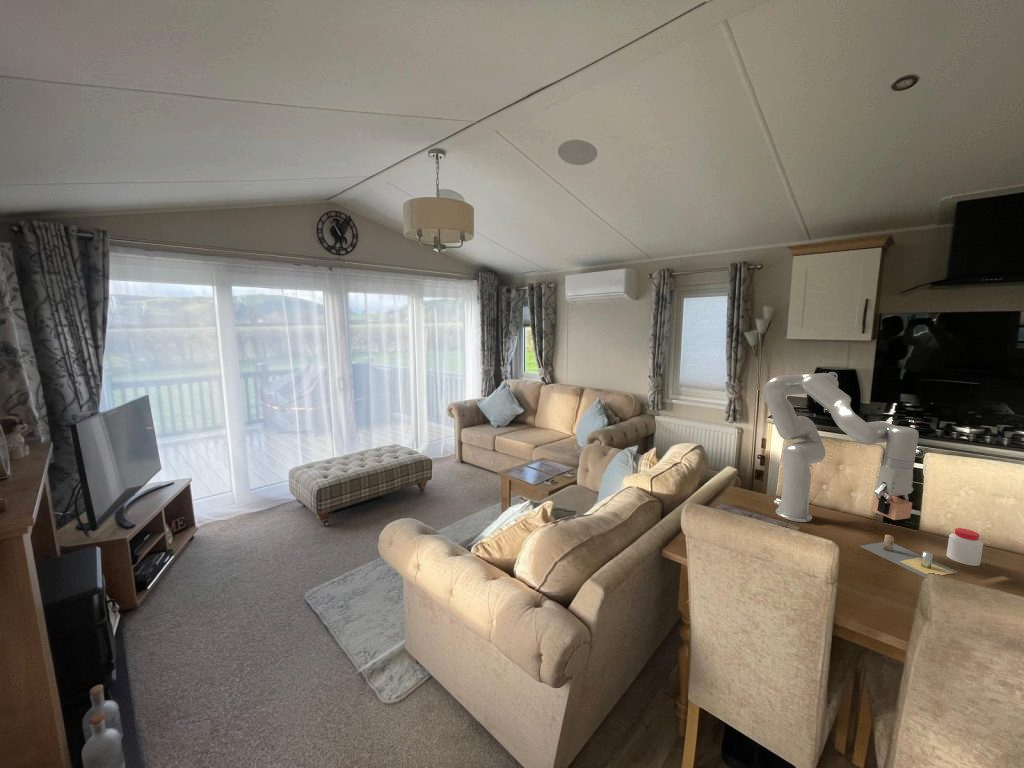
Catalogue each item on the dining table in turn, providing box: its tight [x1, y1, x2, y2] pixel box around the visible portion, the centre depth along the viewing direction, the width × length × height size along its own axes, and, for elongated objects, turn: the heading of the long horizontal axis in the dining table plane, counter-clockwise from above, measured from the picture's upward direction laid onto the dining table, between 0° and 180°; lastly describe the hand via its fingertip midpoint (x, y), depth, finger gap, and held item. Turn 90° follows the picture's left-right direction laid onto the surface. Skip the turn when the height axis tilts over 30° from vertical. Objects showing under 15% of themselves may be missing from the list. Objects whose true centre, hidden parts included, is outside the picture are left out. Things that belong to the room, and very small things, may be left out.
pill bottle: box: [946, 527, 984, 567], centre depth 138 cm, size 8×8×11 cm
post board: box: [859, 534, 958, 578], centre depth 139 cm, size 20×14×6 cm
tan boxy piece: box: [872, 495, 913, 521], centre depth 143 cm, size 7×7×6 cm
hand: (891, 511), depth 143 cm, fingers closed on tan boxy piece, 7 cm apart
